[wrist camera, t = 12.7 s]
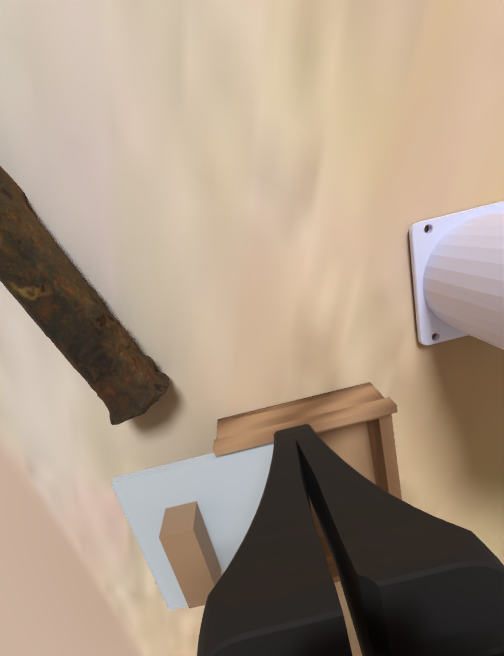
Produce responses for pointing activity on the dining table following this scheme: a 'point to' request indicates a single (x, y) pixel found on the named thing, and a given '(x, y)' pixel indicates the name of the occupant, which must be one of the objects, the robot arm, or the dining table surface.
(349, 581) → the robot arm
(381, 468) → the wooden tray
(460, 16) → the dining table surface
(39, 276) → the dark brown wooden log
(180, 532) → the lid
